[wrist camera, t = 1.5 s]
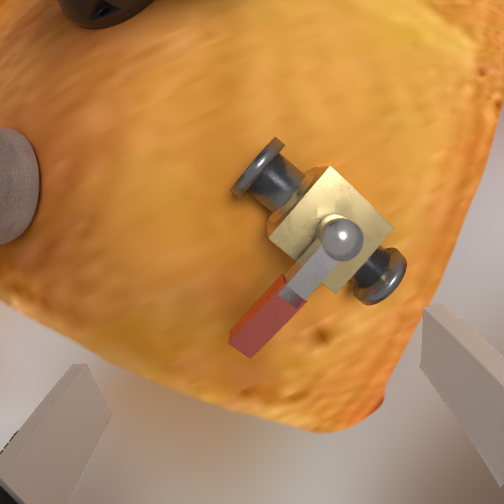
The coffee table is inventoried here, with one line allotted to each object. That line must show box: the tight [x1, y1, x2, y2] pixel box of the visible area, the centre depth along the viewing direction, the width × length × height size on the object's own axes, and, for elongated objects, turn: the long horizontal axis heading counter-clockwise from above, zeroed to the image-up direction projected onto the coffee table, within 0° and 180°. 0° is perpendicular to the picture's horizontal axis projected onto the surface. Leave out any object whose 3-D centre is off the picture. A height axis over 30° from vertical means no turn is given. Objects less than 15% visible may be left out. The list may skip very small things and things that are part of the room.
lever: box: [228, 215, 364, 359], centre depth 26 cm, size 14×3×3 cm, turn 140°
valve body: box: [230, 137, 407, 305], centre depth 31 cm, size 18×8×8 cm, turn 50°
